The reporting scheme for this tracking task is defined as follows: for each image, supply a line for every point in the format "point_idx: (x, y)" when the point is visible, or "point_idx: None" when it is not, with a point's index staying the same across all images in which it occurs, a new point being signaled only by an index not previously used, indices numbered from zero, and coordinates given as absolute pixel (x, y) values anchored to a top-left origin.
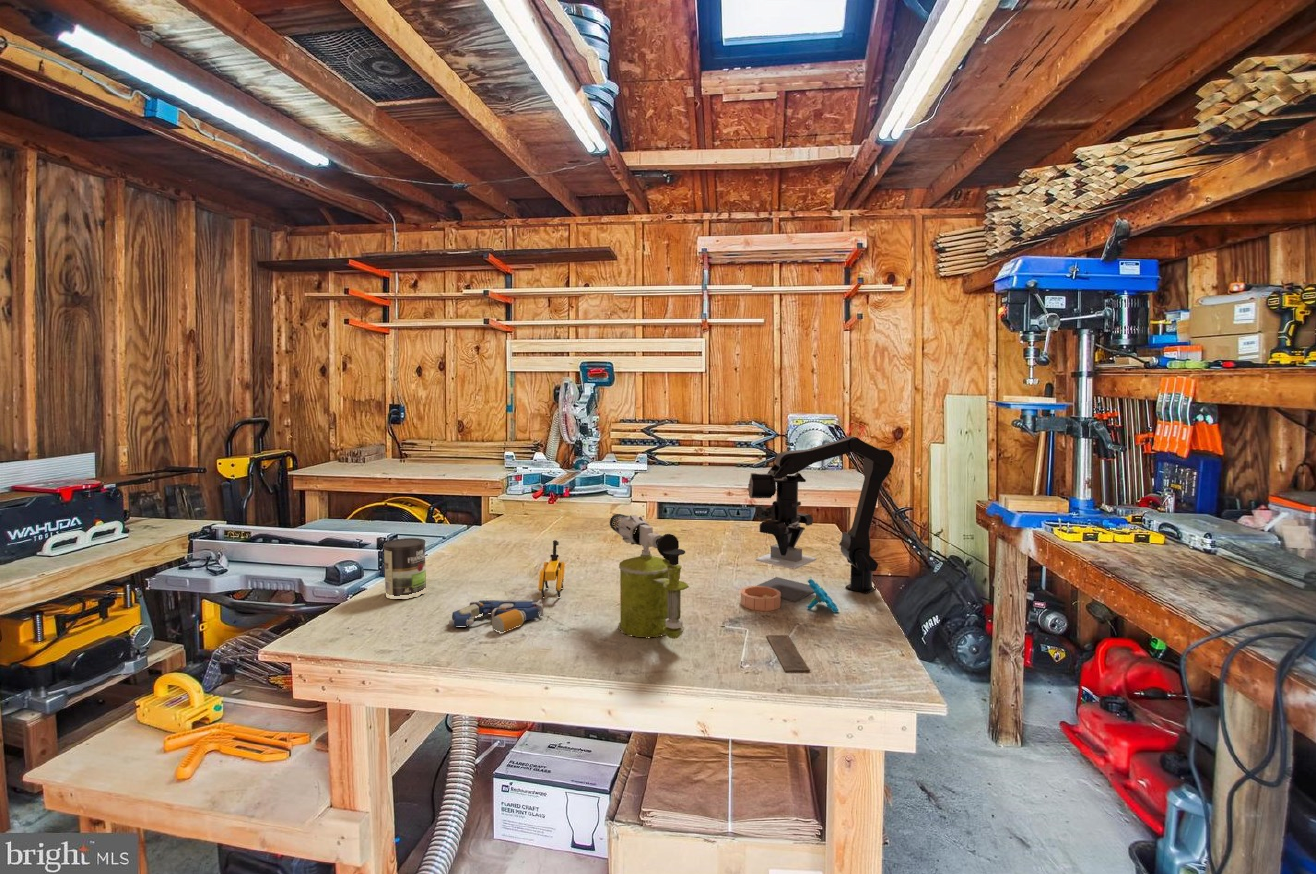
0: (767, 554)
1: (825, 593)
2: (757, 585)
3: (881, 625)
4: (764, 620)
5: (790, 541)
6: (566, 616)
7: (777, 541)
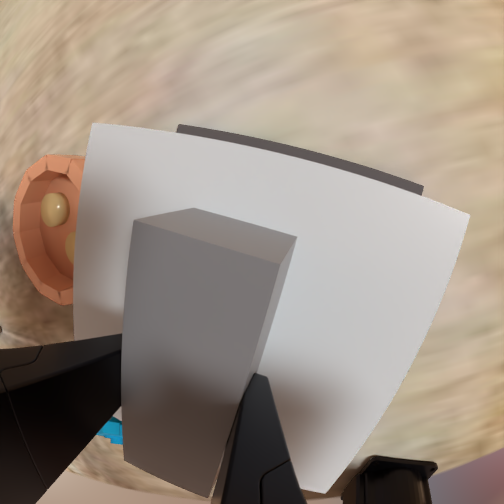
0: (253, 153)
1: (112, 441)
2: (235, 136)
3: (143, 485)
4: (16, 271)
5: (219, 478)
6: None
7: (16, 356)
